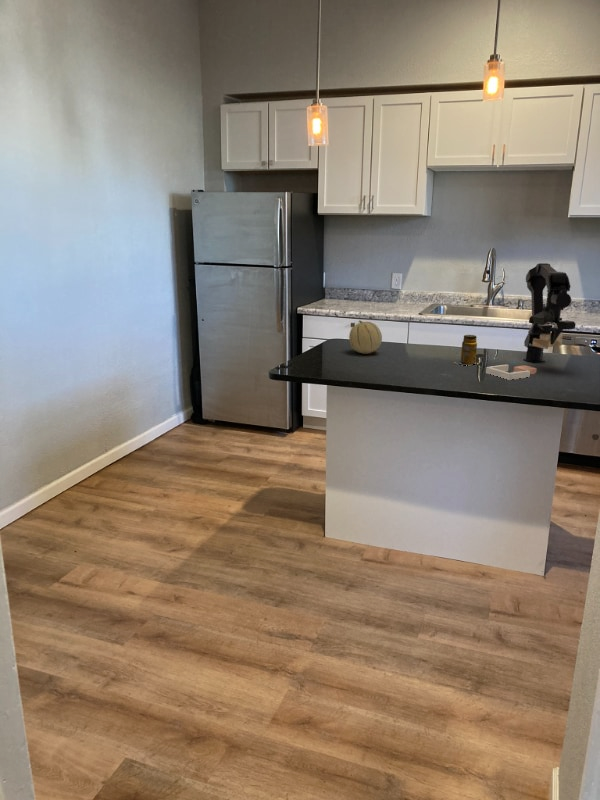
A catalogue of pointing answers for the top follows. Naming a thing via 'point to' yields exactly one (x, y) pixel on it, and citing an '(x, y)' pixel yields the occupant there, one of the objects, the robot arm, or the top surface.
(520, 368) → the tile
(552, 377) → the top surface
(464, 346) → the condiment
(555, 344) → the scraper
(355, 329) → the cantaloupe
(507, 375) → the corral
